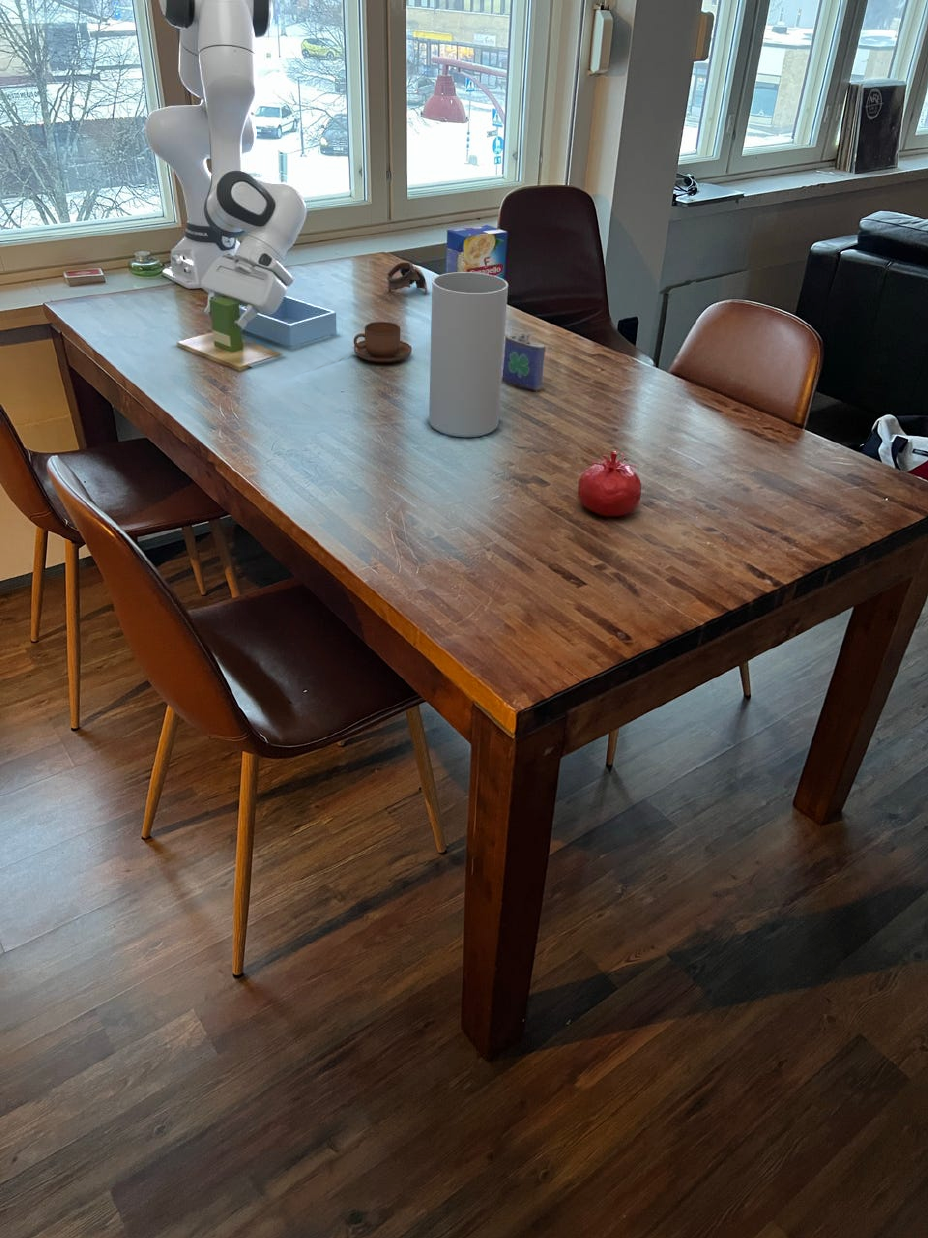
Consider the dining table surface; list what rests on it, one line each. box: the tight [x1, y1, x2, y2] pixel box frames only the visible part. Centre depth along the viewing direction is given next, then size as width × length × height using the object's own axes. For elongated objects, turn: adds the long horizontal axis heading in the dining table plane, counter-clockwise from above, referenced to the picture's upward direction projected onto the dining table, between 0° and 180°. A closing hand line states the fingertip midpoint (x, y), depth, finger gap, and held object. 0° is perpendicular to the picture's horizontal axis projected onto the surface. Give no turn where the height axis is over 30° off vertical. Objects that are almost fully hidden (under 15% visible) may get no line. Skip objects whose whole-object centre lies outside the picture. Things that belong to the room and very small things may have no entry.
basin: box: [239, 295, 338, 348], centre depth 201 cm, size 16×13×5 cm
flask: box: [501, 331, 546, 393], centre depth 181 cm, size 9×3×11 cm, turn 50°
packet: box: [209, 297, 243, 353], centre depth 189 cm, size 6×3×10 cm, turn 51°
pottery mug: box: [386, 260, 429, 295], centre depth 232 cm, size 12×10×8 cm
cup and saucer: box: [353, 321, 412, 363], centre depth 192 cm, size 12×12×6 cm
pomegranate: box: [577, 450, 642, 518], centre depth 141 cm, size 10×10×9 cm
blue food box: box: [445, 224, 508, 280], centre depth 202 cm, size 7×11×22 cm, turn 127°
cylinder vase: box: [428, 272, 509, 438], centre depth 160 cm, size 12×12×25 cm
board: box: [176, 331, 283, 372], centre depth 192 cm, size 20×11×1 cm, turn 51°
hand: (223, 320), depth 188 cm, fingers open, 8 cm apart
